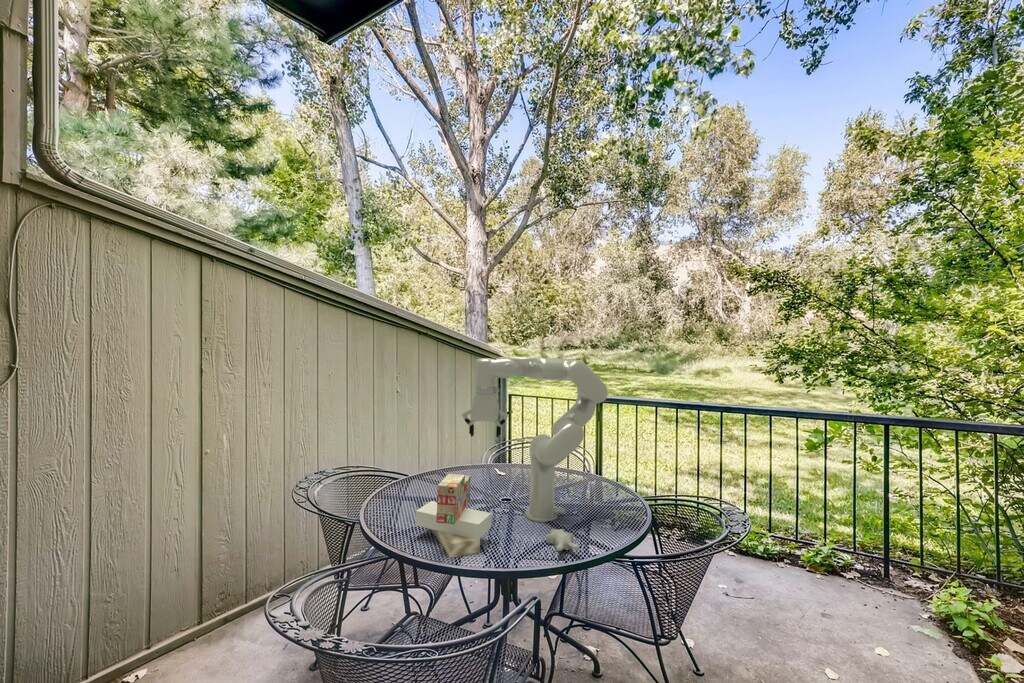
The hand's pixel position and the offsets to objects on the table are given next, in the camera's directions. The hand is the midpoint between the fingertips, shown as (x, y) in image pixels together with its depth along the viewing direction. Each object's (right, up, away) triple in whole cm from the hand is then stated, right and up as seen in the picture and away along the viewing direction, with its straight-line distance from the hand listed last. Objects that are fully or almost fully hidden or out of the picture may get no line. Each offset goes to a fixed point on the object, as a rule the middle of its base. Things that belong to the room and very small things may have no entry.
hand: (485, 436), depth 170 cm
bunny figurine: (+27, -34, -19) cm, 47 cm away
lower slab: (-10, -33, -15) cm, 37 cm away
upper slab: (-10, -28, -16) cm, 33 cm away
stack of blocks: (-10, -23, -15) cm, 29 cm away
